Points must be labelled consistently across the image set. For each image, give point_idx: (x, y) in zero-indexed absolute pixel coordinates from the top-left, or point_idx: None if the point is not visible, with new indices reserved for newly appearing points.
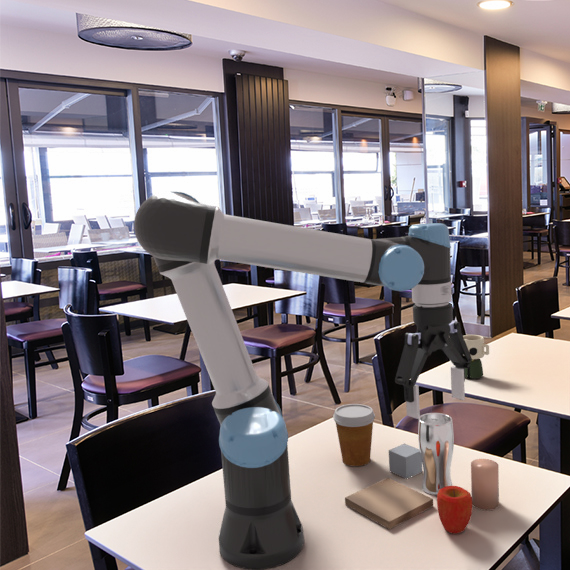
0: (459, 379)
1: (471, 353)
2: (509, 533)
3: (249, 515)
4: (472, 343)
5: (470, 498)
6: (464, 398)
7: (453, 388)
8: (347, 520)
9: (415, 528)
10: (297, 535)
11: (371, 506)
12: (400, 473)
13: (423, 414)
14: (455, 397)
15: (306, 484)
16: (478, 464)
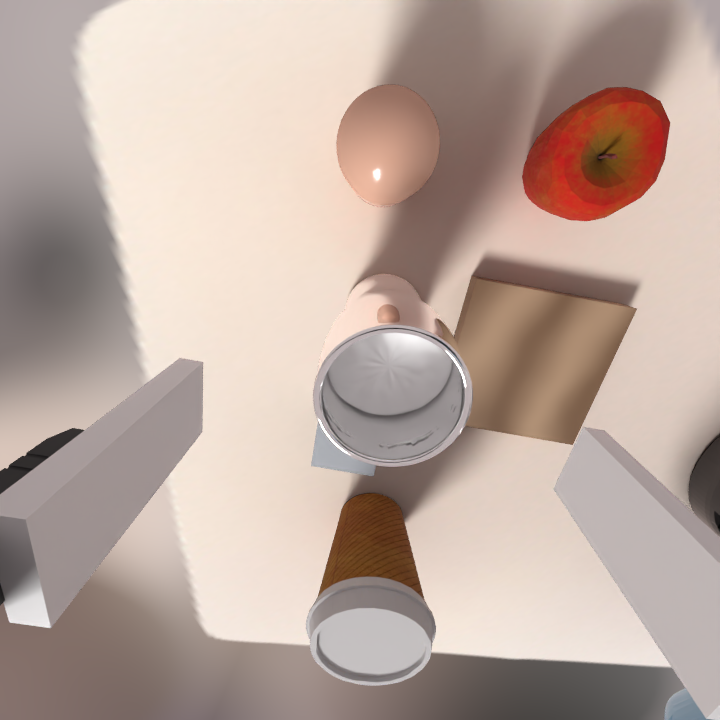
0: (118, 460)
1: None
2: (502, 21)
3: None
4: None
5: (608, 91)
6: (180, 360)
7: (173, 455)
8: (624, 396)
9: (592, 257)
10: None
11: (585, 379)
12: None
13: (375, 463)
14: (199, 411)
15: (523, 533)
16: (400, 168)
